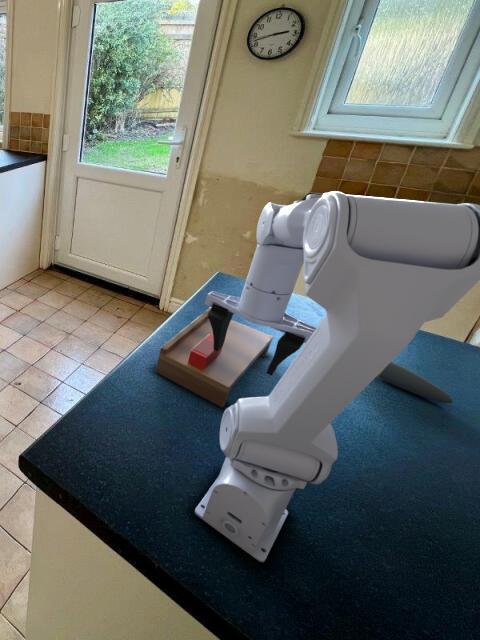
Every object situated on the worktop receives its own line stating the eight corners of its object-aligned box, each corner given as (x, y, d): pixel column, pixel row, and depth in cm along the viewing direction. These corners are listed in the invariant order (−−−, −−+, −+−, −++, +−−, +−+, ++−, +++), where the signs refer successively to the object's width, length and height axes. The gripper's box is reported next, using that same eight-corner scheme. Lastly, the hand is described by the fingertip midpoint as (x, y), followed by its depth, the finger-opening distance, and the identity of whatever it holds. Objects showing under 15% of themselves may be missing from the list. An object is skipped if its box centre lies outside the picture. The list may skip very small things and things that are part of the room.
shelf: (222, 407, 71) (231, 382, 68) (155, 371, 79) (160, 347, 77) (266, 354, 83) (275, 331, 81) (204, 328, 92) (211, 306, 89)
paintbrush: (451, 397, 72) (466, 375, 70) (447, 411, 70) (462, 388, 68) (314, 343, 87) (323, 323, 85) (306, 352, 84) (315, 332, 82)
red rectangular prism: (202, 370, 73) (206, 357, 71) (187, 362, 74) (190, 350, 73) (224, 348, 78) (228, 336, 77) (210, 341, 80) (213, 329, 79)
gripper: (338, 295, 58) (305, 371, 64) (226, 261, 68) (206, 329, 74) (325, 312, 54) (291, 393, 59) (208, 274, 64) (188, 345, 70)
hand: (243, 359), depth 66 cm, fingers open, 7 cm apart
